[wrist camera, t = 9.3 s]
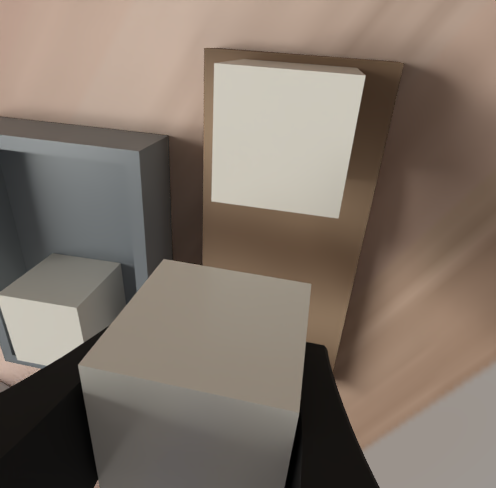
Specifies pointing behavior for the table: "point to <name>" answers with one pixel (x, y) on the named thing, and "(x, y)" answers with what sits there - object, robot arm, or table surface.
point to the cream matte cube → (61, 305)
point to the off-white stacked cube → (198, 381)
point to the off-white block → (283, 134)
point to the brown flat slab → (296, 224)
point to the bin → (81, 201)
